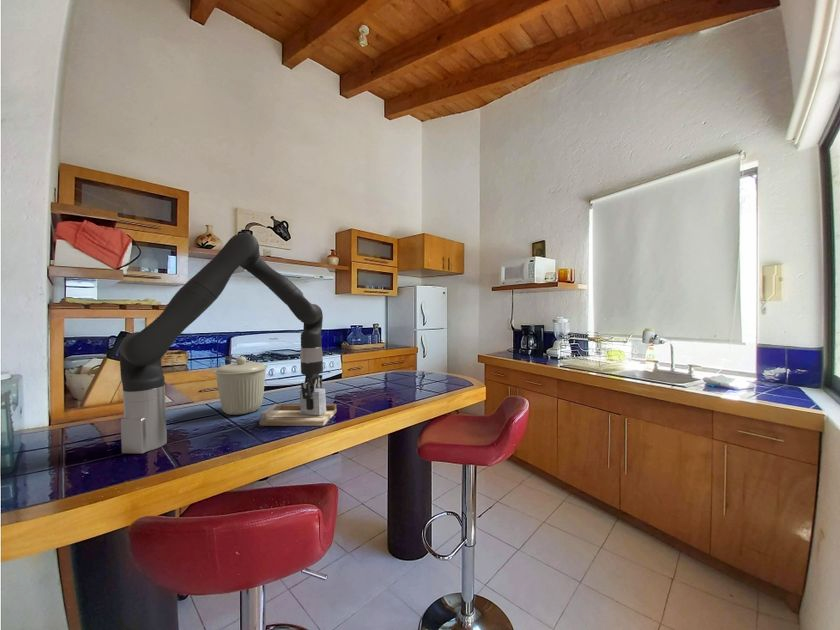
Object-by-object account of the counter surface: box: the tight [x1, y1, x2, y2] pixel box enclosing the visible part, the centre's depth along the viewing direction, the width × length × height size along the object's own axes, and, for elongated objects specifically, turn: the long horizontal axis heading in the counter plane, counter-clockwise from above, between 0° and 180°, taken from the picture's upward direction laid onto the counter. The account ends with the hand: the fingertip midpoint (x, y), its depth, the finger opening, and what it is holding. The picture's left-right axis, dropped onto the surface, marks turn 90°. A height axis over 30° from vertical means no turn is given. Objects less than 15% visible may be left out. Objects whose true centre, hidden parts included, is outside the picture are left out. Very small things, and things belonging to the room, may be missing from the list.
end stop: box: [260, 403, 282, 420], centre depth 116 cm, size 10×2×2 cm, turn 177°
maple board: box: [258, 408, 337, 427], centre depth 116 cm, size 14×22×2 cm, turn 87°
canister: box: [213, 356, 268, 416], centre depth 125 cm, size 18×18×21 cm
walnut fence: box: [280, 403, 337, 410], centre depth 122 cm, size 2×22×2 cm, turn 87°
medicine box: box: [299, 388, 327, 416], centre depth 117 cm, size 8×4×9 cm, turn 74°
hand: (313, 406), depth 117 cm, fingers closed on medicine box, 5 cm apart
